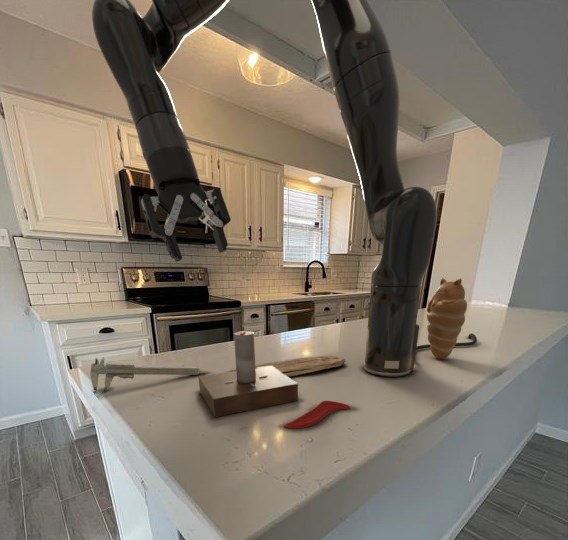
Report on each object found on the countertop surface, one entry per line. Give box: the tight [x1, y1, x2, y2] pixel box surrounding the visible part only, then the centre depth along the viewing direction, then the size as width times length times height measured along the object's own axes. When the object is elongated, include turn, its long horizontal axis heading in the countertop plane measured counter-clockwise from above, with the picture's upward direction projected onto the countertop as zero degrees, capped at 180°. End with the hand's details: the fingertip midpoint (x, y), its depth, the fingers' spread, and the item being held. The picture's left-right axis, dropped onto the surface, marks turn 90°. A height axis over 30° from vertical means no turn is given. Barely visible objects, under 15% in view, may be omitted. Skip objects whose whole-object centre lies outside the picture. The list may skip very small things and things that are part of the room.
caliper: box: [89, 356, 207, 392], centre depth 62 cm, size 20×1×6 cm, turn 119°
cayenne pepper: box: [283, 400, 352, 429], centre depth 48 cm, size 12×5×2 cm, turn 114°
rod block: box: [198, 366, 299, 418], centre depth 55 cm, size 14×11×3 cm
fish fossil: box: [234, 354, 346, 378], centre depth 69 cm, size 26×10×1 cm, turn 118°
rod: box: [233, 330, 256, 383], centre depth 53 cm, size 3×3×8 cm
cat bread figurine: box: [426, 277, 468, 359], centre depth 72 cm, size 9×8×18 cm
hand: (202, 255), depth 58 cm, fingers open, 8 cm apart
